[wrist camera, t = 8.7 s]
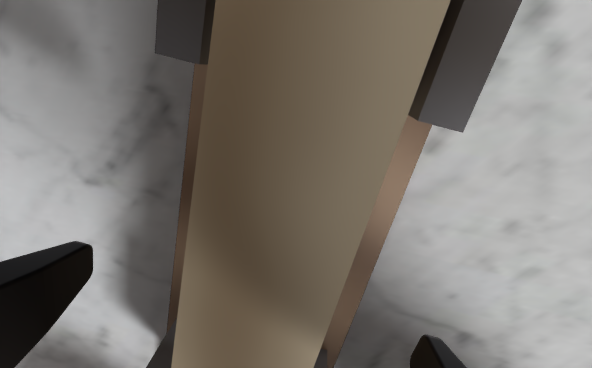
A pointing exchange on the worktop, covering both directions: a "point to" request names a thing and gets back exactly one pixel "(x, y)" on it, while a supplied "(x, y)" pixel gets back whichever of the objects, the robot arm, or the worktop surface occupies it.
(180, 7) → the frame
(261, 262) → the beige wooden bar
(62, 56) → the worktop surface
